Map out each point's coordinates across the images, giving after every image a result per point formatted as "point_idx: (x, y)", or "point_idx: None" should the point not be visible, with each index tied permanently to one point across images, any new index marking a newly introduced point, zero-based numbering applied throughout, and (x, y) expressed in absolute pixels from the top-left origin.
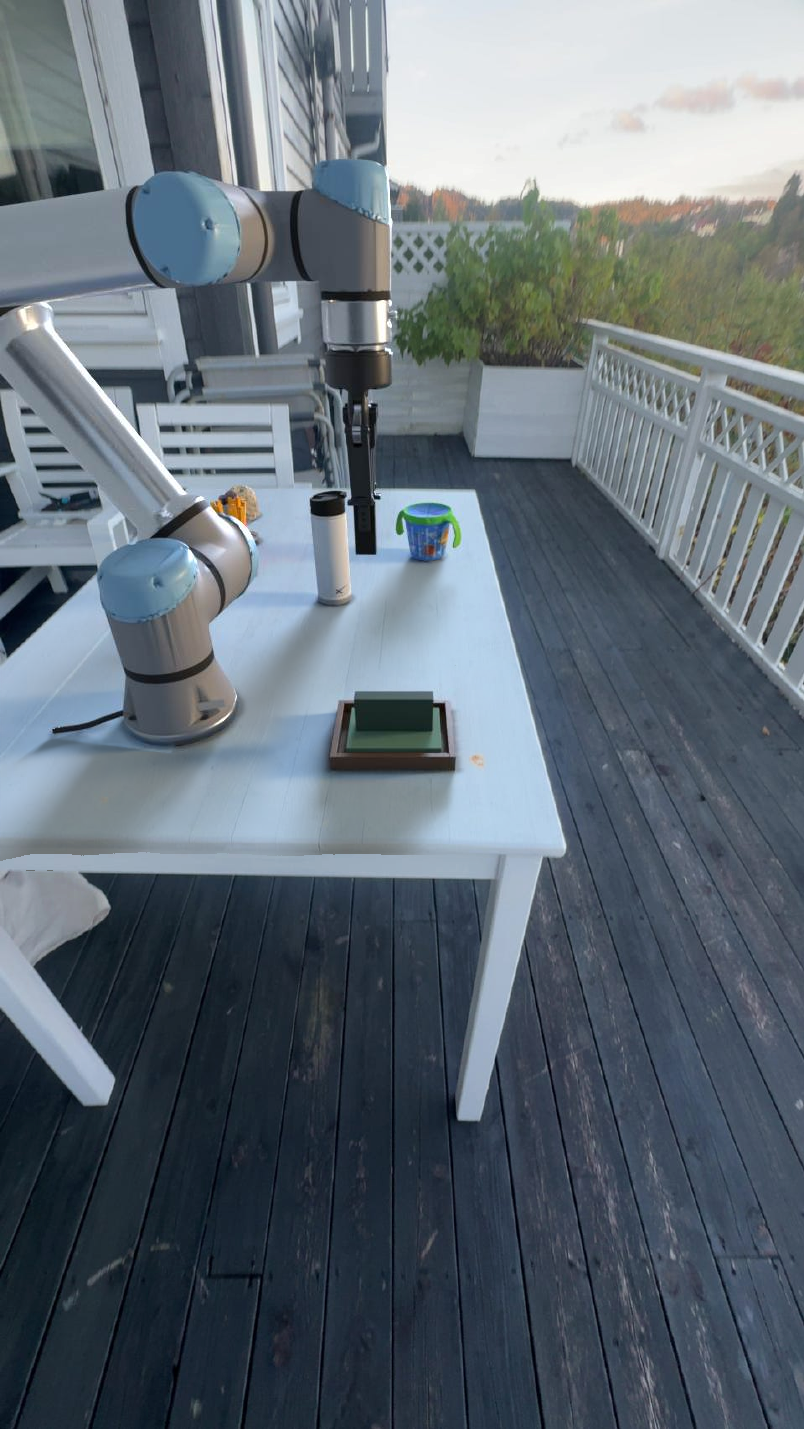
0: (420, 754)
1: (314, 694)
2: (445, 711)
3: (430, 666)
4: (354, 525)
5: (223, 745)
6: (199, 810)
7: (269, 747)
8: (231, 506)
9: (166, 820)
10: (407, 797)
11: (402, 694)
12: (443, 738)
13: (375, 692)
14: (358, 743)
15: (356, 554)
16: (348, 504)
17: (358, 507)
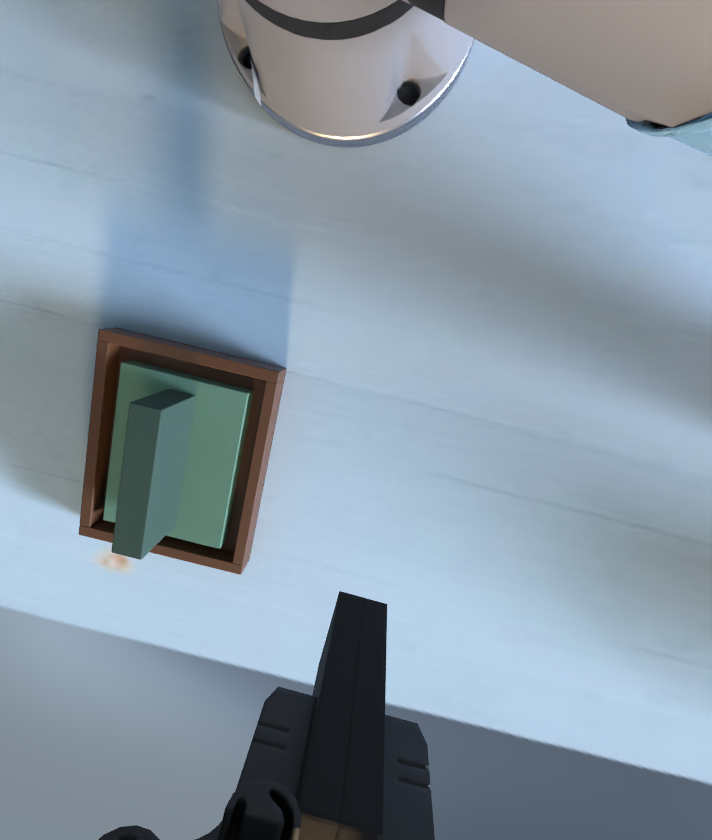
0: (89, 483)
1: (363, 324)
2: (209, 556)
3: (413, 572)
4: (320, 692)
5: (216, 118)
6: (33, 79)
7: (196, 217)
8: None
9: (12, 15)
10: (40, 437)
11: (136, 501)
12: None
13: (150, 450)
14: (131, 386)
15: (338, 595)
16: (235, 795)
17: (217, 829)
